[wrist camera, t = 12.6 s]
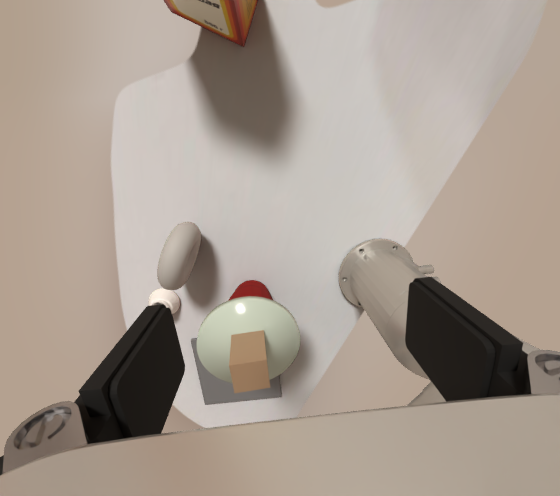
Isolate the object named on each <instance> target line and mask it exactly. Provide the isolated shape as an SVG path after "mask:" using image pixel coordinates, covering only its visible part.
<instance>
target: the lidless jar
mask: <svg viewBox="0 0 560 496" xmlns="http://www.w3.org/2000/svg"><path fill="white" fill-rule="evenodd" d="M157 302H159V303H160V304H161V305H162V304H164V305H165V306H166V307H167V308H170V309H171V312H172V314H174V313H175V312H176V311H177V310H178V309H179V306H180V300H179V297H178V296H177V294H176V293H175V292H173V291H172V290H167V289H164V288H162V289H157V290H155V291H153V293H152V294H151V295H150V296H149V301H148V303H149V306H152V305H156V304H155V303H157Z"/></svg>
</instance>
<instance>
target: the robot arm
mask: <svg viewBox="0 0 560 496" xmlns="http://www.w3.org/2000/svg"><path fill="white" fill-rule="evenodd" d="M393 246H394V247H393ZM360 249H361V250H360ZM359 250H360V251H359ZM433 272H434V267H433V266H432V265H425V266H418V265H416V264H415V263H414V262H413V260H412V257H411V256H410V254H409V253H408V251H407V250H406V249H405V248H404V247H402V246H401V245H400V244H398V243H396V242H394V241H391V240H388V239H372V240H369V241H365V242H363V243H361V244H359V245H358V246H356V247H355V248H353V249H352V250H351V251H350V252H349V253H348V254H347V256H346V257H345V258H344V260H343V262H342V264H341V266H340V270H339V285H340V288H341V290H342V292H343V294H344V295H345V297H346V298H347V299H348V300H349V301H350V302H351V303H353V304H354V305H356V306H358V307H361V308H364V309H365V311H366V312H367V314H368V316H369V317H370V319H371V320H372V322H373V323H374V325H375V326H376V328H377V330H378V331H379V333H380V334H381V336H382V337H383V339H384V340H385V342H386V343H387V345H388V347H389V348H390V349H391V351H392V352H393V354H394V356H395V357H396V358H397V360H398V361H399V362H400V363H401V364H402V365H403V366H405V367H406V368H407V369H409V370H410V371H412V372H413V373H415V374H417V375H419V376H421V377H424V378H426V379H429V380H431V382H430V383H429V384H428V385H427V387H425V388H424V389H423V391H422V392H421V393H420V394H419V395H418V396H417V397H416V398H415V399H414V400H413V401H411V403H409V404H408V405H407V406H401V407H391V408H382V409H372V410H363V411H353V412H344V413H335V414H326V415H318V416H309V417H299V418H290V419H281V420H273V421H264V422H255V423H247V424H238V425H230V426H221V427H213V428H204V429H196V430H188V431H180V432H171V433H162V434H161V432H162V430H163V427H164V424H165V422H166V419H167V416H168V413H169V411H170V408H171V406H172V403H173V401H174V398H175V396H176V393H177V390H178V388H179V385H180V383H181V380H182V377H183V375H184V371H185V364H184V360H183V356H182V352H181V348H180V344H179V340H178V336H177V332H176V328H175V324H174V320H173V316H172V312H171V309H170V308H166V306H165V305H164V304H162V305H152V306H147V307H146V308H145V310H144V311H143V312H142V313H141V314H140V316H139V317H138V318H137V319H136V321H135V322H134V323H133V324H132V326H131V327H130V328H129V329H128V331H127V332H126V333H125V334H124V335H123V337H122V338H121V339H120V341H119V342H118V343H117V344H116V345H115V347H114V348H113V349H112V350H111V352H110V353H109V354H108V355H107V357H106V358H105V359H104V360H103V361H102V363H101V364H100V365H99V367H98V368H97V369H96V370H95V371H94V373H93V374H92V375H91V376H90V378H89V379H88V380H87V381H86V383H85V384H84V385H83V386H82V388H81V389H80V390H79V393H80V396H79V397H78V398H77V399H76V401H75V402H70V401H67V402H60V403H56V404H52V405H50V406H48V407H46V408H43V409H41V410H40V411H38V412H36V413H35V414H33V415H31V416H30V417H29V418H27V419H26V420H25V421H23V422H22V423H21V424H20V425H19V426H18V427H17V428H16V429H15V430H14V431H13V432H12V434H11V435H10V436H9V438H8V439H7V442H6V445H5V448H4V455H3V456H2V457H0V496H560V352H556V351H550V350H540V349H538V348H536V347H534V346H532V345H530V344H528V343H527V342H525V341H523V340H521V339H519V338H517V337H515V336H513V335H512V334H510V333H509V332H508V331H506V330H505V329H503V328H502V327H501V326H499V325H498V324H496V323H495V322H494V321H492V320H491V319H489V318H488V317H487V316H485V315H484V314H483V313H481V312H480V311H478V310H477V309H476V308H474V307H472V306H471V305H470V304H468V303H467V302H466V301H464V300H463V299H461V298H460V297H459V296H457V295H456V294H455V293H453V292H452V291H450V290H449V289H448V288H446V287H445V286H443V285H442V284H441V281H440V279H439V278H438V277H427V276H425V275H424V274H431V273H433ZM343 277H344V278H343Z"/></svg>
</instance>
